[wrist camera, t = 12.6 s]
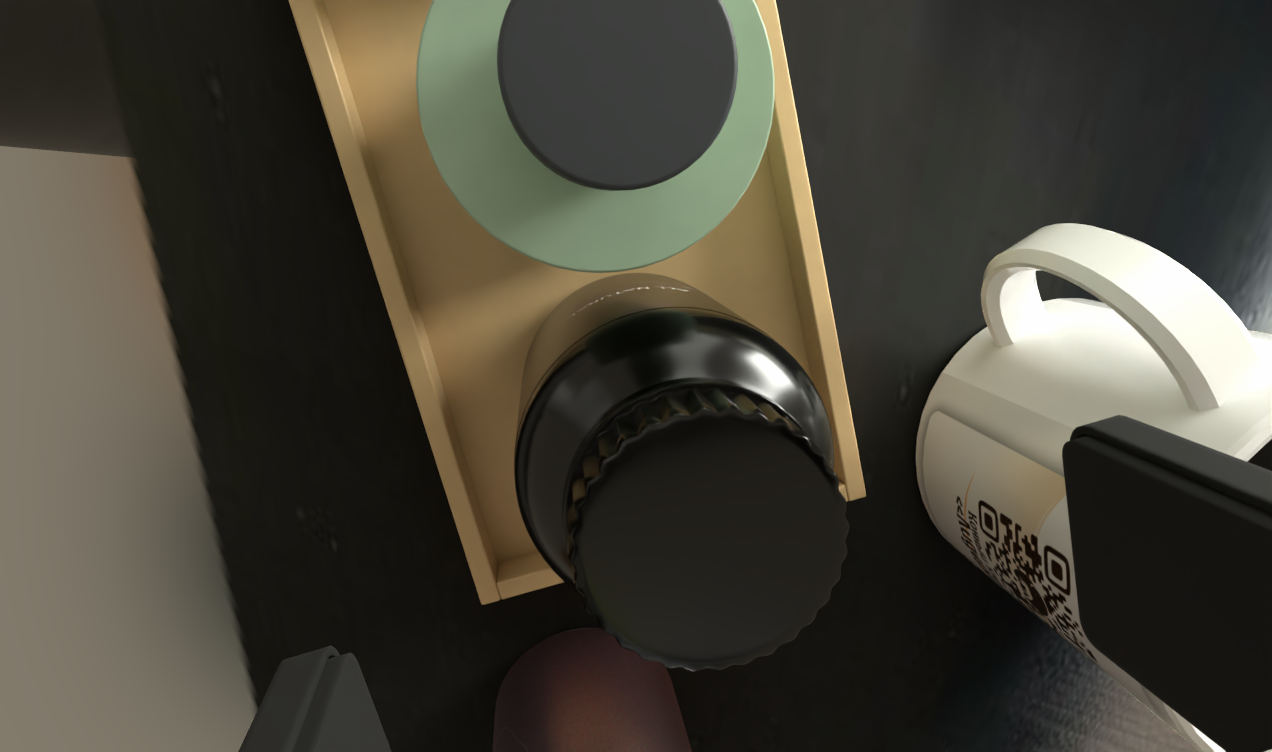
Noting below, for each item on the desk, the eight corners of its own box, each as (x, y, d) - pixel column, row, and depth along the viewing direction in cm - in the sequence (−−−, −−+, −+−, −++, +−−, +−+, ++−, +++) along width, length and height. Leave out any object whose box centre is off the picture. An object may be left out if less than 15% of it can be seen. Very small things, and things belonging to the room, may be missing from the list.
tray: (484, 574, 27) (481, 606, 24) (203, -320, 20) (168, -376, 18) (842, 474, 27) (867, 497, 25) (674, -413, 21) (689, -476, 19)
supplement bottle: (627, 221, 24) (719, 247, 12) (785, 372, 26) (997, 520, 14) (470, 391, 25) (420, 569, 13) (636, 529, 26) (722, 797, 15)
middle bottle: (496, 263, 24) (461, 341, 11) (435, 48, 22) (318, -136, 10) (694, 212, 24) (874, 234, 12) (647, -2, 23) (795, -239, 10)
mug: (871, 567, 28) (1081, 795, 18) (929, 214, 26) (1213, 228, 15) (1146, 576, 30) (1493, 791, 19) (1224, 242, 27) (1673, 274, 17)
